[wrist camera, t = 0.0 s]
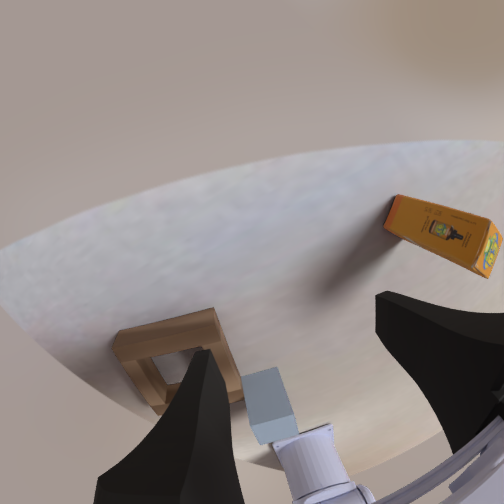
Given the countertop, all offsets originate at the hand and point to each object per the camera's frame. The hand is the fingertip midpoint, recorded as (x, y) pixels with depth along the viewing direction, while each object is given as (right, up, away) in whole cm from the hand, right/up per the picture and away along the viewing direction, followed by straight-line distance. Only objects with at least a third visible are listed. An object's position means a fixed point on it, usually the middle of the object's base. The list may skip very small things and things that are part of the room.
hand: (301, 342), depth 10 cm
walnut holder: (-8, -6, +11) cm, 15 cm away
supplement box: (+11, +7, +11) cm, 17 cm away
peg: (-1, -9, +13) cm, 16 cm away
